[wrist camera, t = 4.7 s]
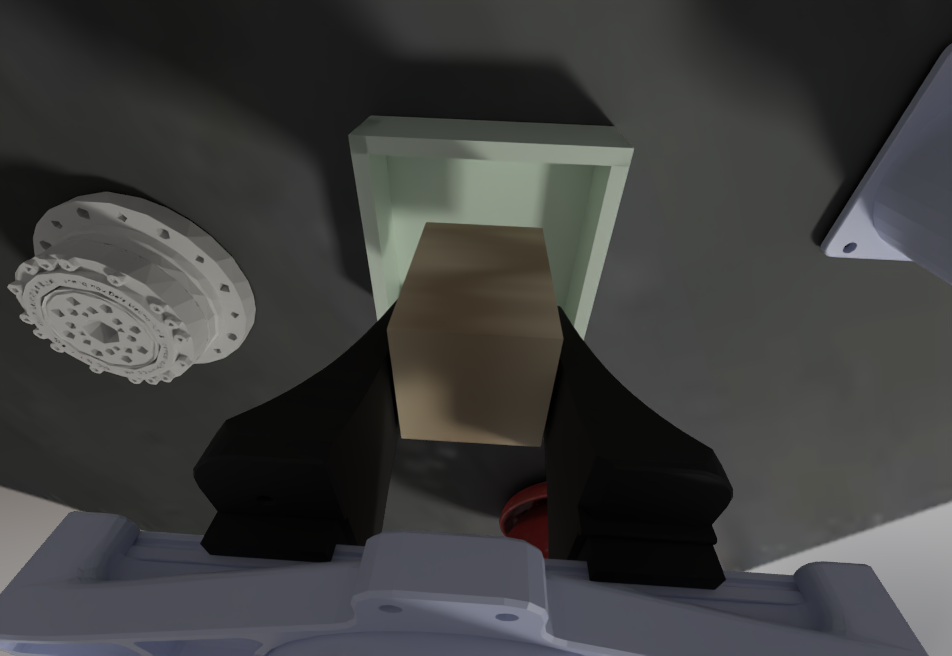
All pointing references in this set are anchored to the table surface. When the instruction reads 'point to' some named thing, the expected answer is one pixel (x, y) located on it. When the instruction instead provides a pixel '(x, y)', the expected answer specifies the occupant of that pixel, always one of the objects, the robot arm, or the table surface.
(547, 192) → the tray
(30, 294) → the mechanical component
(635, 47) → the table surface
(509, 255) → the brown block
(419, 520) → the table surface
